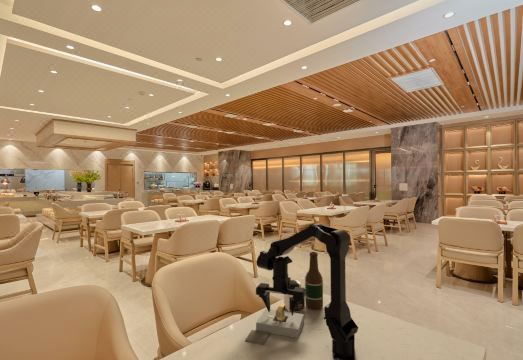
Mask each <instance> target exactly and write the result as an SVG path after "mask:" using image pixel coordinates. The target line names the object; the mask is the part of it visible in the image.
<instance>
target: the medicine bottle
mask: <svg viewBox="0 0 523 360" xmlns="http://www.w3.org/2000/svg"><path fill="white" fill-rule="evenodd" d="M295 287H302V283H301V281H300V280H297V279H291V283H290V287H289V288H288V289H291V290H294V289H295ZM292 299H293V295H288V294H283V304H285V310H286V311H287V312H291V311H292ZM305 307H306V304H305V298H304V300H301V301H300V302H297V304H296V307H295V310H294V313H301V312H305V311H306V309H305Z"/></svg>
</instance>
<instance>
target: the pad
mask: <svg viewBox="0 0 523 360" xmlns="http://www.w3.org/2000/svg"><path fill="white" fill-rule="evenodd" d="M270 335H271V333H268V332H262V331H256V329H251V330H250V332H249V333H248V335H247V336H246V338H244V342H248V343H253V344H260V345H265V343H266V341H267V340H268V338H269V337H270Z"/></svg>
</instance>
